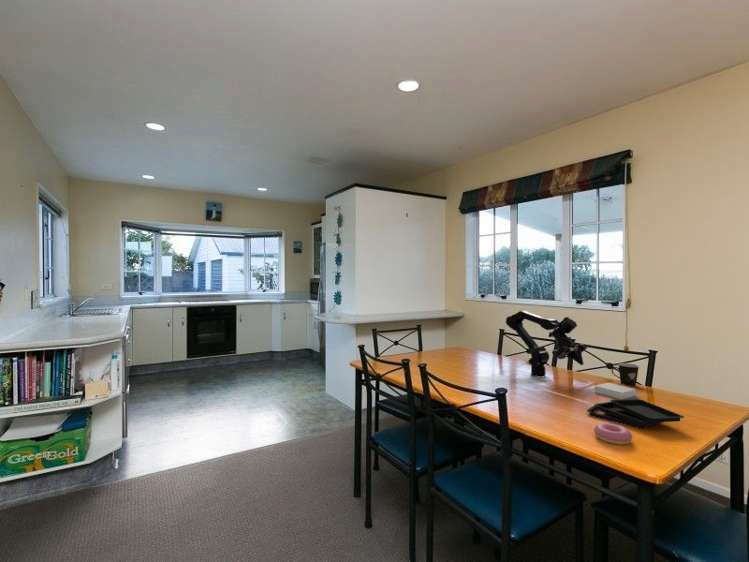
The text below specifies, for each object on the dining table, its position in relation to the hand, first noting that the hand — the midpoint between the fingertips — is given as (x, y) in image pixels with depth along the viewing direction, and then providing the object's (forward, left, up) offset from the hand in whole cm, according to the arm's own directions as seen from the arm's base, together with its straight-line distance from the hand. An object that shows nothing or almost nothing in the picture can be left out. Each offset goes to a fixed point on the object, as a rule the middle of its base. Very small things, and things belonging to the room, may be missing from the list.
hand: (582, 364), depth 186 cm
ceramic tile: (+9, -4, -9) cm, 13 cm away
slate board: (+13, -6, -11) cm, 18 cm away
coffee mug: (+17, +19, -11) cm, 28 cm away
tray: (+21, -36, -12) cm, 43 cm away
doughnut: (+15, -62, -12) cm, 65 cm away
